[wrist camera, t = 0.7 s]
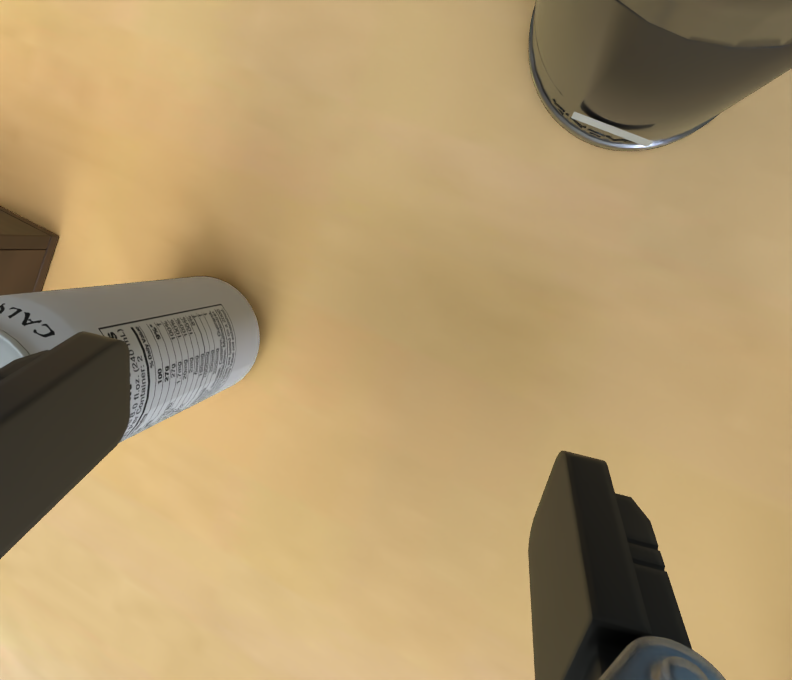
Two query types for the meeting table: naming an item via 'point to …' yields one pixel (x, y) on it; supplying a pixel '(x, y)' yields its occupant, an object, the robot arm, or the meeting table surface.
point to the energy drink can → (146, 336)
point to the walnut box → (23, 254)
